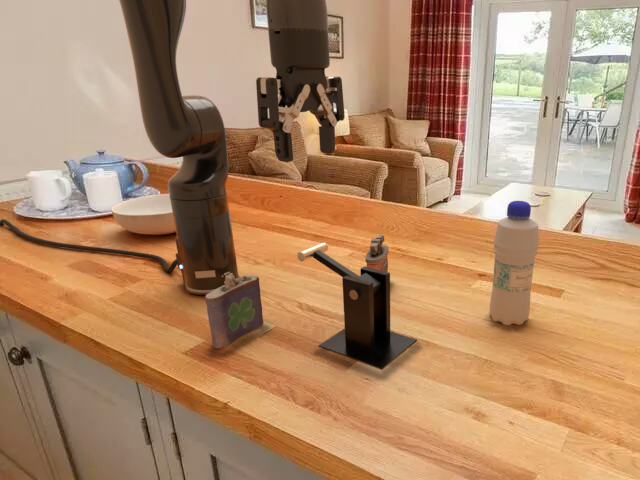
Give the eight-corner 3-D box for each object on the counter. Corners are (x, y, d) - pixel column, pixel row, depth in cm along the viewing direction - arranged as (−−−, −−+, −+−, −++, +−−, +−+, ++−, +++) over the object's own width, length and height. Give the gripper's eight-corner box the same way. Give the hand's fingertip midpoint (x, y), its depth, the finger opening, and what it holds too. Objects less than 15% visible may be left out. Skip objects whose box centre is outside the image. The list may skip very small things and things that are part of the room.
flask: (222, 356, 69) (210, 287, 65) (207, 351, 70) (195, 282, 66) (268, 329, 77) (261, 265, 72) (254, 324, 78) (246, 261, 74)
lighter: (381, 300, 87) (380, 246, 83) (362, 298, 87) (361, 245, 83) (391, 282, 94) (391, 232, 90) (374, 280, 94) (373, 231, 91)
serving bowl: (151, 216, 134) (146, 191, 131) (224, 220, 131) (220, 194, 128) (96, 240, 115) (89, 212, 112) (180, 245, 112) (174, 216, 109)
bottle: (504, 336, 75) (516, 209, 67) (478, 318, 81) (487, 198, 73) (538, 326, 78) (553, 203, 70) (511, 309, 83) (523, 194, 76)
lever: (295, 261, 69) (298, 247, 68) (319, 251, 73) (322, 237, 72) (361, 306, 65) (365, 292, 64) (382, 292, 69) (387, 279, 68)
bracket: (318, 353, 70) (313, 277, 66) (357, 327, 77) (354, 257, 73) (382, 376, 65) (380, 296, 60) (417, 347, 72) (418, 272, 67)
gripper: (313, 32, 70) (320, 148, 76) (233, 24, 59) (249, 161, 65) (355, 30, 66) (359, 153, 73) (278, 22, 55) (290, 167, 62)
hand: (307, 156), depth 69 cm, fingers open, 8 cm apart
